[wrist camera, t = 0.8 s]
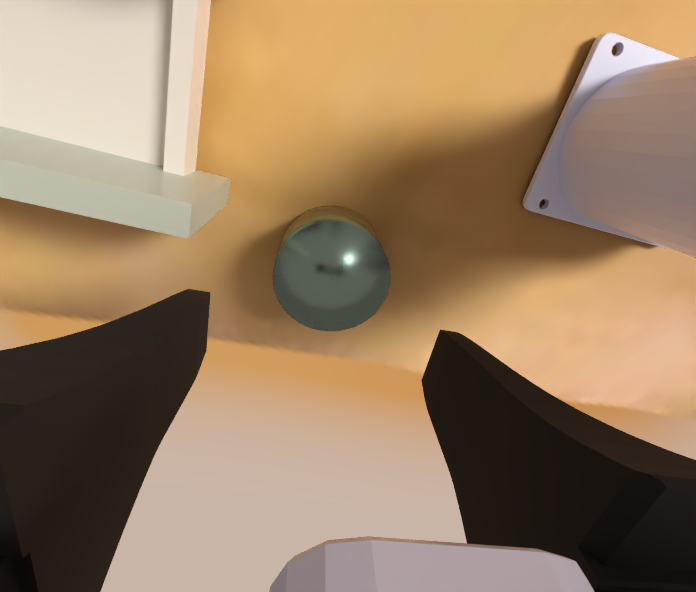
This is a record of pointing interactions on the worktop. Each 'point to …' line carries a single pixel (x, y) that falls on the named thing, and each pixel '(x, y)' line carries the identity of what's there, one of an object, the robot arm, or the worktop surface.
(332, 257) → the tin
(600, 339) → the worktop surface
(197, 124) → the drawer tray
